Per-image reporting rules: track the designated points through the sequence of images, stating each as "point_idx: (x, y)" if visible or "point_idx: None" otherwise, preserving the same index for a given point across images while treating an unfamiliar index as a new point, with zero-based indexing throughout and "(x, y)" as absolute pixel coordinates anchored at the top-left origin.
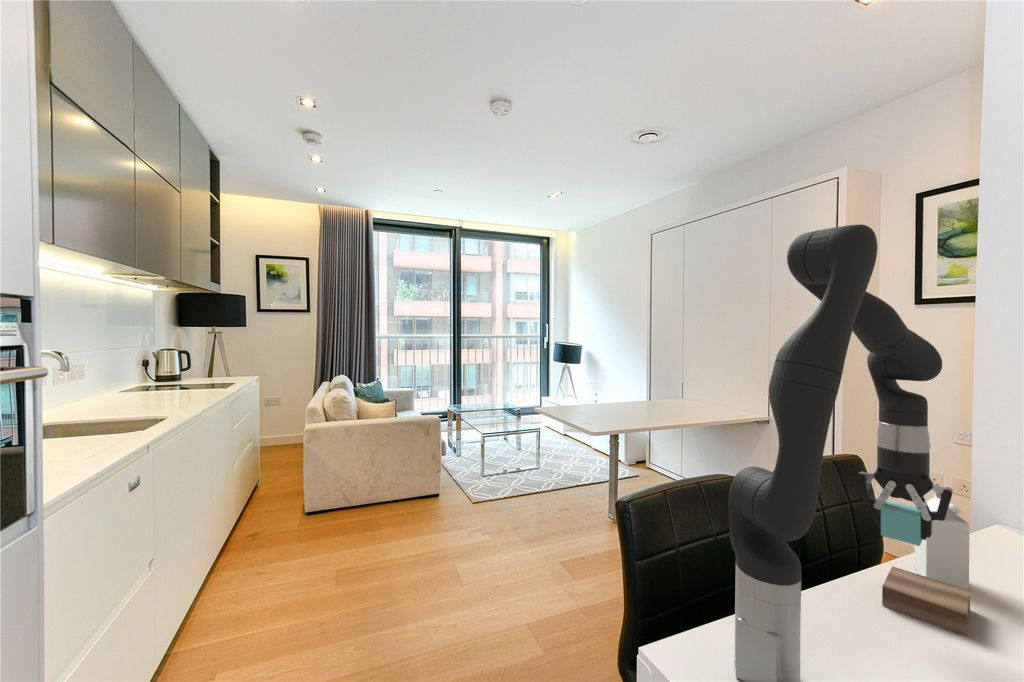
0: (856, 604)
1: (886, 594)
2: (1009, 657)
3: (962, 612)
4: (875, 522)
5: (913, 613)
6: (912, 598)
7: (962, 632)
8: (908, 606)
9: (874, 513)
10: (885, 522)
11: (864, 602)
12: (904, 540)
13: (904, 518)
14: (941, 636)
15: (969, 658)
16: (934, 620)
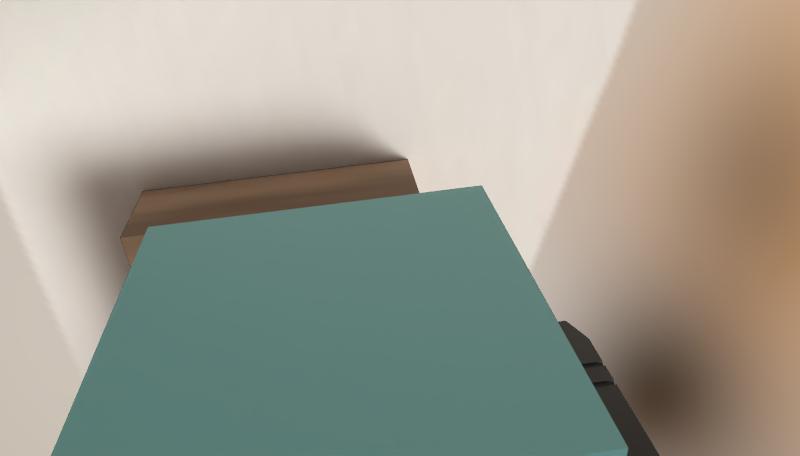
0: (482, 70)
1: (400, 185)
2: (6, 163)
3: (138, 243)
4: (573, 331)
5: (304, 177)
6: None
7: (153, 192)
8: (322, 186)
9: (631, 410)
10: (483, 286)
11: (462, 119)
12: (278, 222)
13: (266, 422)
14: (192, 103)
15: (69, 12)
16: (238, 187)
